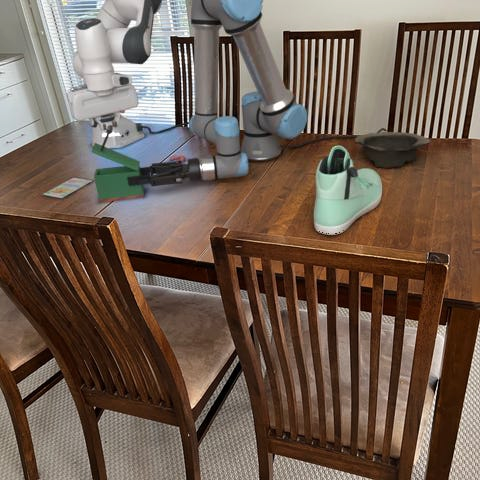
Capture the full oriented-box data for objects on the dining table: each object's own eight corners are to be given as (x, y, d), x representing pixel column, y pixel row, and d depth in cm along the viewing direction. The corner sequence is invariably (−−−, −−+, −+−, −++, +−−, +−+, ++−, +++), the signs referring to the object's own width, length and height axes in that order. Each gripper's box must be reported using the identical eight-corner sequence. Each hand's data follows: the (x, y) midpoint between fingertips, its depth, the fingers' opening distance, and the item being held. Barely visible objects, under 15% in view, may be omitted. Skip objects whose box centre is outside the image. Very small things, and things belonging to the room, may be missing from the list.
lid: (91, 152, 145) (101, 126, 141) (93, 145, 150) (103, 120, 146) (137, 171, 150) (148, 147, 147) (138, 164, 155) (149, 140, 151)
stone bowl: (388, 178, 153) (388, 150, 149) (339, 160, 173) (338, 135, 169) (444, 159, 162) (447, 132, 158) (392, 144, 182) (392, 120, 178)
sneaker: (389, 187, 148) (396, 123, 138) (356, 242, 123) (361, 168, 112) (346, 181, 154) (350, 119, 144) (306, 232, 129) (307, 161, 118)
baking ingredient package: (42, 193, 161) (73, 176, 172) (42, 194, 161) (73, 178, 173) (61, 197, 157) (92, 180, 169) (62, 198, 158) (92, 181, 169)
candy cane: (149, 171, 173) (148, 167, 172) (176, 156, 183) (176, 153, 182) (161, 174, 170) (160, 170, 169) (188, 159, 180) (188, 155, 179)
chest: (99, 202, 154) (93, 176, 149) (102, 194, 159) (96, 169, 154) (143, 197, 155) (138, 171, 150) (144, 189, 160) (139, 164, 155)
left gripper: (69, 90, 131) (81, 139, 138) (136, 76, 141) (144, 122, 148) (61, 87, 135) (73, 134, 142) (127, 73, 145) (134, 118, 152)
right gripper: (203, 192, 149) (128, 200, 148) (200, 168, 165) (133, 176, 164) (200, 169, 145) (124, 178, 144) (198, 148, 162) (129, 155, 160)
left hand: (109, 128), depth 145 cm, fingers closed on lid, 3 cm apart
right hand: (129, 177), depth 154 cm, fingers closed on chest, 6 cm apart
